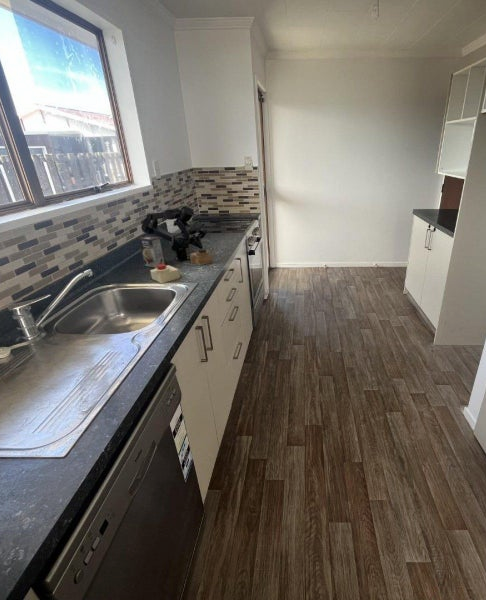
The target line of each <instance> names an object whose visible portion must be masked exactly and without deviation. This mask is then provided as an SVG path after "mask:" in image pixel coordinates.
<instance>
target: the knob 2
mask: <svg viewBox="0 0 486 600" xmlns="http://www.w3.org/2000/svg"><path fill="white" fill-rule="evenodd" d="M206 250H207V248H202V249H200V248H198V251H199V253H205V252H206Z"/></svg>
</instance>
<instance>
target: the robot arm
mask: <svg viewBox="0 0 486 600" xmlns="http://www.w3.org/2000/svg"><path fill="white" fill-rule="evenodd" d="M194 214H195V211H194V210H193V209H192V208H191V207H189V206H187V205H183V206H182V207H181V209H180V208H179V207H172V208H168V209H166V210H164V211H158V212H157V211H156V212H149V213H148V214H146V217H145V219H143V221H142V223H141V226H140V227H141V231H142V232H143V233H144V234H148V235H155V236H156V237H159V238H162V239H163V240H166V241H168V242H170V243H171V247H170V249H171V251H173V252H175V254H176V257H175V258H174V260H176V261H178V262H184V261H187V260H191V259H190V257H189V256H188V254H187V249H189V248H190V245H191V246H194V247H195V248H198V249H203V244H202V241H201V239H204V238H205V237H206V236H207V234H208V230H207V229H206V228H202V227H203V225H202V223H201V222H200V221H196V222H195V223H193V224H191V223H189V222H190V221H191V219H192V218H193V216H194ZM162 219H166V220H170V221H172V220H174V221H173V223H172V224H173V227H177V228H178V229H179V230H180V233H176V234H174V233H172V232H170V231H168V230H166V229H164V228H162V227H160V226H159V225H158V224H159V220H162Z"/></svg>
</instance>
